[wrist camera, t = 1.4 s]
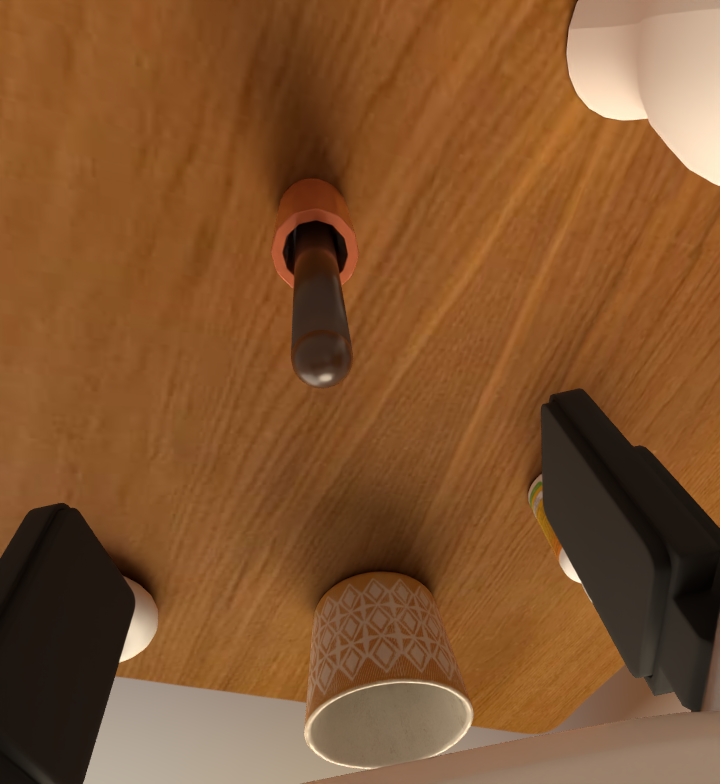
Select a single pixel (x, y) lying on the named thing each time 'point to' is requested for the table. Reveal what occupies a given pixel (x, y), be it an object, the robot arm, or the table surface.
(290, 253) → the holder
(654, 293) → the table surface
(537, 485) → the supplement bottle
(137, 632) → the donut
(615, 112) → the cup
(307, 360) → the stick
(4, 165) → the table surface
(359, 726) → the planter
